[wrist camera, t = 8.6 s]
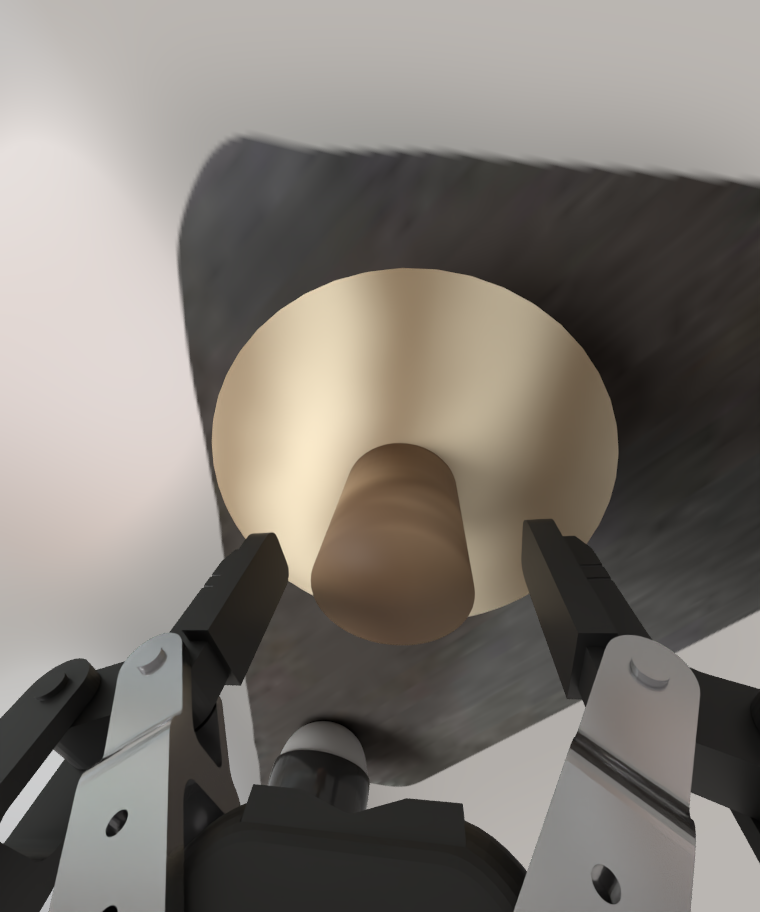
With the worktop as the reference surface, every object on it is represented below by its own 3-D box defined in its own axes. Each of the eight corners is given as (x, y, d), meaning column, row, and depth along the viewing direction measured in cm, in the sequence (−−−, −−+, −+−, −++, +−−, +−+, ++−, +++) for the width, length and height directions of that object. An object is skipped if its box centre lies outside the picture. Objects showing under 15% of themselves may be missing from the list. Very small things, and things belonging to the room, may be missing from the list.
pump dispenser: (366, 762, 39) (338, 1007, 26) (283, 741, 39) (212, 976, 26) (384, 722, 35) (362, 997, 21) (290, 699, 35) (207, 959, 21)
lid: (642, 221, 9) (929, 134, 4) (579, 603, 16) (656, 754, 11) (161, 313, 12) (-41, 331, 7) (284, 606, 19) (231, 728, 14)
